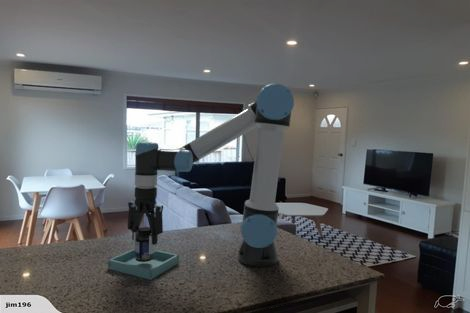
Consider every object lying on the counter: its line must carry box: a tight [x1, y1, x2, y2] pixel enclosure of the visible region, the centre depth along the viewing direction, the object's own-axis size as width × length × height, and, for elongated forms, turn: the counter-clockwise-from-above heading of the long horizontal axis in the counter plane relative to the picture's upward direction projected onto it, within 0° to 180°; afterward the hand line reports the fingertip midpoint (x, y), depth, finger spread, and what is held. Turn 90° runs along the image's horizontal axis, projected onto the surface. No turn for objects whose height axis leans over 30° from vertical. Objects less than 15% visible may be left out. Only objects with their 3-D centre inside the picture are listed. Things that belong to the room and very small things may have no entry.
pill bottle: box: [135, 226, 153, 262], centre depth 121 cm, size 6×6×11 cm
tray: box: [107, 249, 180, 281], centre depth 122 cm, size 18×16×3 cm
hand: (144, 251), depth 122 cm, fingers closed on pill bottle, 6 cm apart
